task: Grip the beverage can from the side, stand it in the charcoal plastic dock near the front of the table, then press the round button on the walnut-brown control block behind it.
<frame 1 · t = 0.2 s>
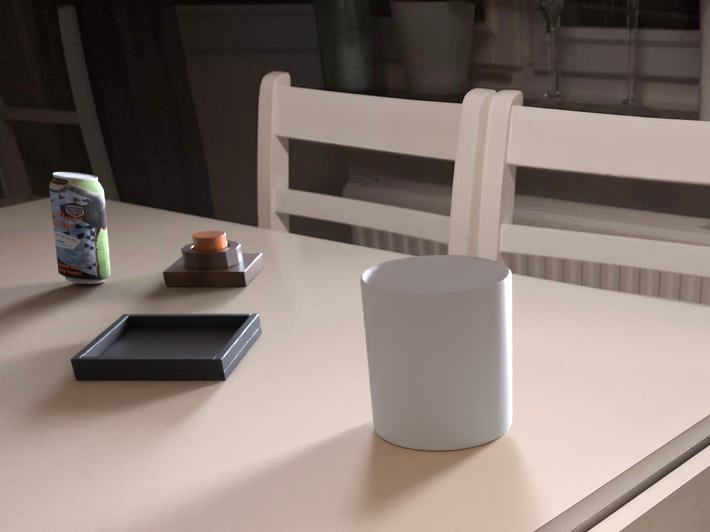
white cylinder: (443, 426, 85), on the table
start button: (210, 242, 122), point 4 cm above the table, slide at 0.1 cm
dock: (173, 355, 101), on the table
beverage can: (93, 283, 124), on the table
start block: (216, 276, 125), on the table
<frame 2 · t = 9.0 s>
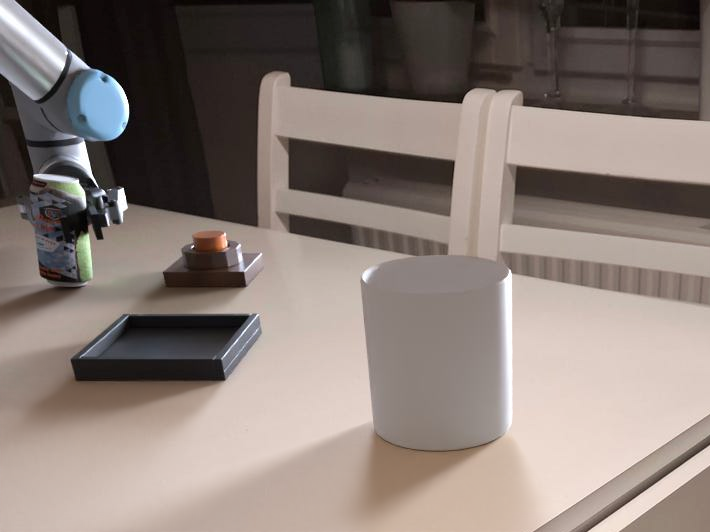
hand: (81, 228, 116), 7 cm above the table, tool horizontal, fingers closed on beverage can, 3 cm apart
beverage can: (75, 286, 123), on the table, touching gripper
everything else where it was.
when the fingers open (8 cm above the table, at t = 20.0 s): beverage can stays where it is, resting on dock.
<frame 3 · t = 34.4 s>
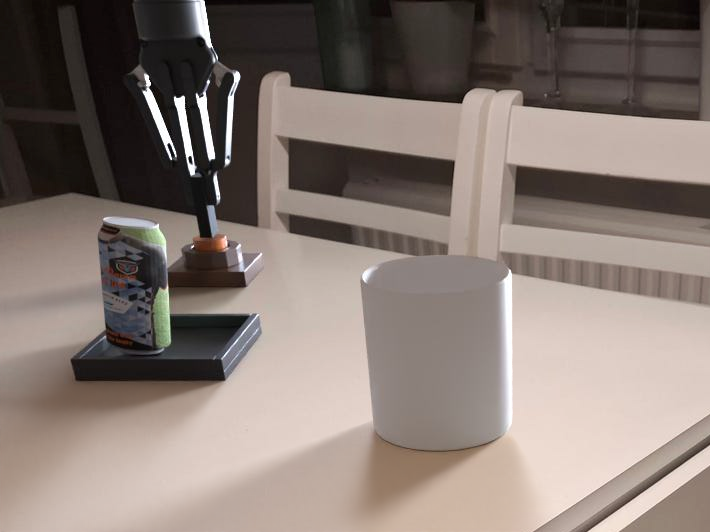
hand: (209, 235, 122), 5 cm above the table, tool pointing down, fingers closed
start button: (210, 245, 123), point 4 cm above the table, slide at -0.2 cm, touching gripper
beverage can: (149, 352, 100), point 1 cm above the table, touching dock
everything else where it was.
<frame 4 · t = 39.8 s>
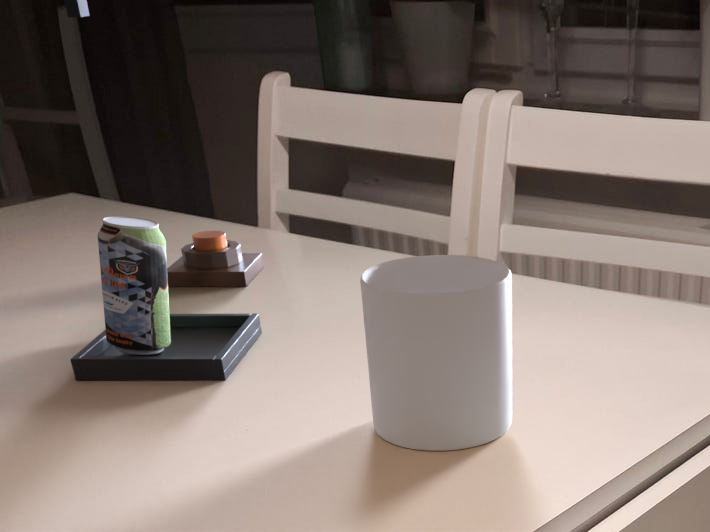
hand: (79, 16, 115), 26 cm above the table, tool pointing down, fingers closed
start button: (210, 242, 122), point 4 cm above the table, slide at 0.1 cm
everything else where it was.
at the end: beverage can inside the target area in the dock (2.3 cm from its centre), point 0.6 cm above the dock's base; beverage can tilted 0°; start button pushed in 1.0 cm at the most during the clip, back to where it started at the end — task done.
